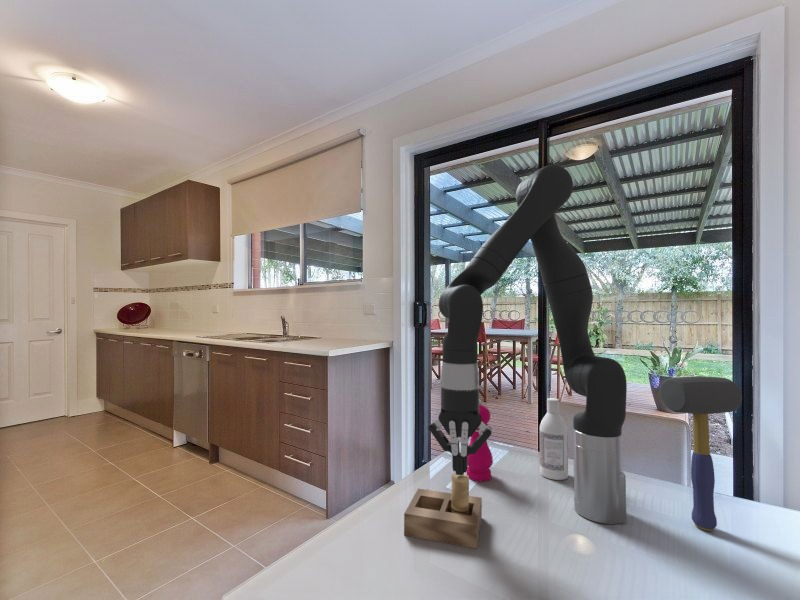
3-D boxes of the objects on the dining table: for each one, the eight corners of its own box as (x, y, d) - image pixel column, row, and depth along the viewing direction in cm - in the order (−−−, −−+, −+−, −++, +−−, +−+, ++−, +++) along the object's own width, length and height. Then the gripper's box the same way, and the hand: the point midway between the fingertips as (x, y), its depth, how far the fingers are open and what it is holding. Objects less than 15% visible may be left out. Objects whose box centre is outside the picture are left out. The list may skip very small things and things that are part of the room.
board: (481, 517, 77) (481, 497, 77) (476, 548, 67) (476, 525, 67) (418, 507, 81) (418, 488, 81) (404, 535, 70) (404, 513, 71)
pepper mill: (495, 482, 94) (495, 402, 95) (467, 482, 94) (467, 402, 95) (489, 471, 101) (489, 396, 102) (462, 470, 101) (463, 396, 102)
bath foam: (549, 468, 103) (548, 395, 105) (573, 476, 98) (572, 399, 99) (534, 474, 99) (533, 398, 100) (559, 483, 94) (558, 403, 95)
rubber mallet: (715, 517, 78) (710, 373, 80) (752, 538, 71) (746, 379, 72) (660, 519, 77) (656, 373, 79) (691, 540, 70) (686, 379, 71)
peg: (470, 525, 74) (470, 474, 75) (468, 535, 71) (468, 481, 71) (452, 522, 75) (452, 471, 76) (449, 531, 72) (450, 478, 72)
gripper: (494, 383, 76) (495, 470, 75) (431, 380, 80) (431, 462, 79) (493, 390, 69) (493, 486, 68) (423, 386, 73) (423, 476, 72)
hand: (459, 473), depth 73 cm, fingers closed
